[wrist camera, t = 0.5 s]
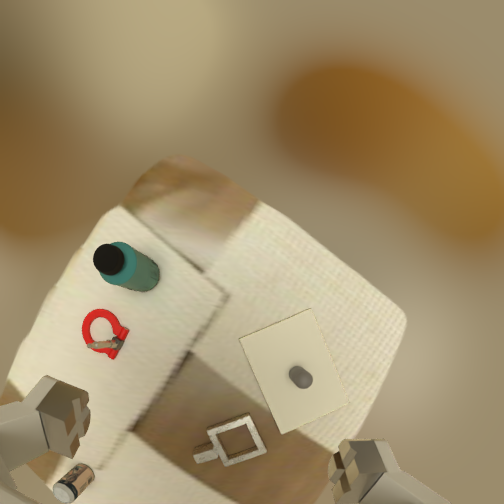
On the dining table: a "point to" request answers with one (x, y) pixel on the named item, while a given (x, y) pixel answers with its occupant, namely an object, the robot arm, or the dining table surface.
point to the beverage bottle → (125, 266)
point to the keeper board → (286, 355)
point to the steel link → (216, 446)
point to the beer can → (73, 483)
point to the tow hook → (109, 345)
